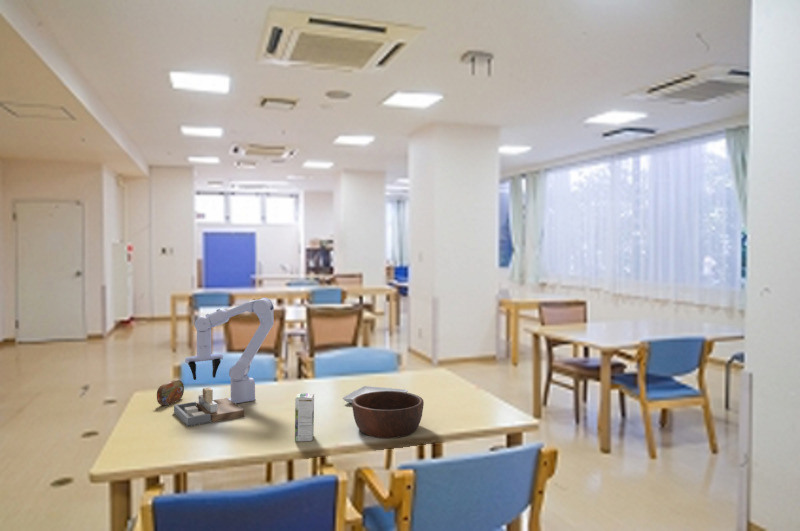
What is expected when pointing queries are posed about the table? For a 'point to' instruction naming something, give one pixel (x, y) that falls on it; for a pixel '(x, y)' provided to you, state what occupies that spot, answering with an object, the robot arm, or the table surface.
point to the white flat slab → (208, 400)
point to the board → (223, 410)
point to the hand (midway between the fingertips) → (204, 378)
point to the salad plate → (368, 389)
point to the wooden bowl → (387, 413)
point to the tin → (170, 392)
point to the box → (187, 418)
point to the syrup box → (304, 417)
